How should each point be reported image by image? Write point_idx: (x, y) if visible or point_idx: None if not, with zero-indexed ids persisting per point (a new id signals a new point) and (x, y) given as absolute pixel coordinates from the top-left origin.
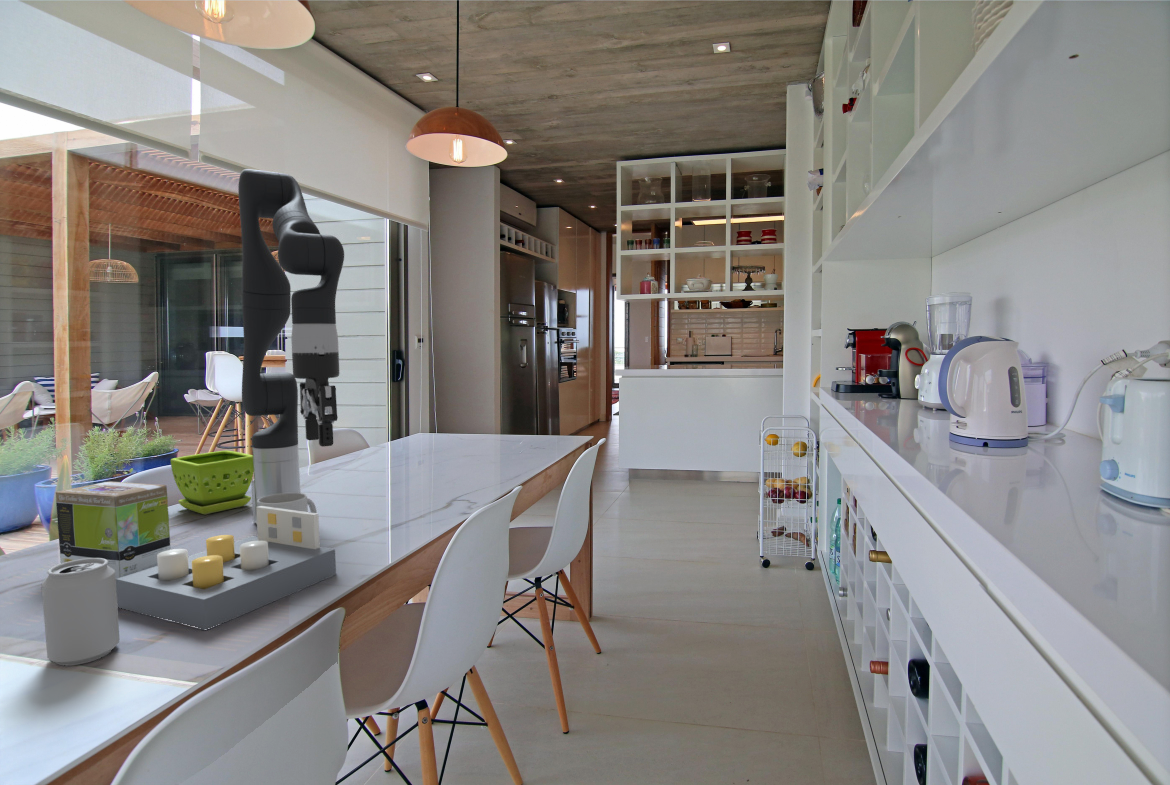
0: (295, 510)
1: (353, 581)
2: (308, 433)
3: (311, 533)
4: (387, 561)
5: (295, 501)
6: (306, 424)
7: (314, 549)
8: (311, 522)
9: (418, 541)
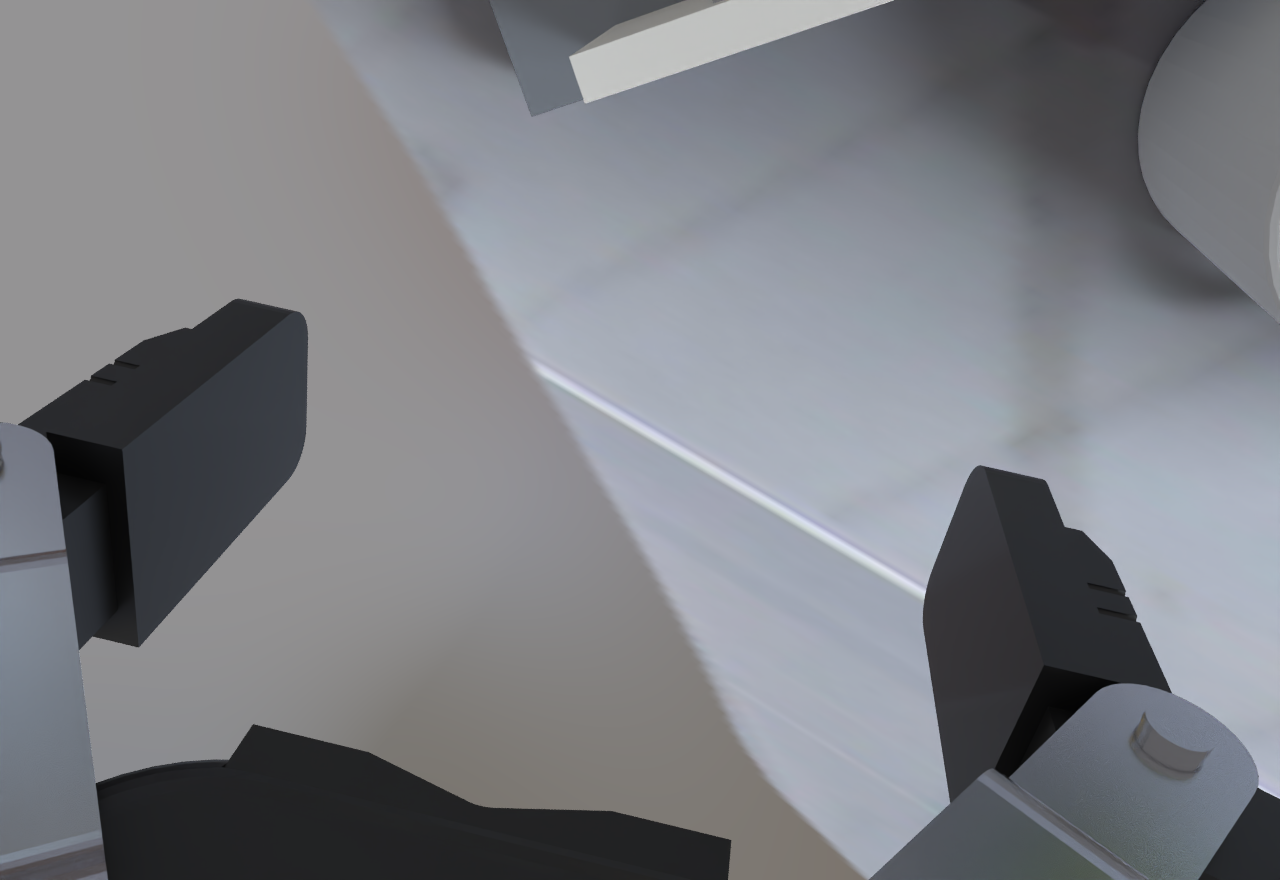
0: (1237, 198)
1: (404, 100)
2: (988, 533)
3: (624, 27)
4: (560, 367)
5: (1265, 223)
6: (1027, 610)
7: (614, 19)
8: (606, 39)
9: (722, 617)
